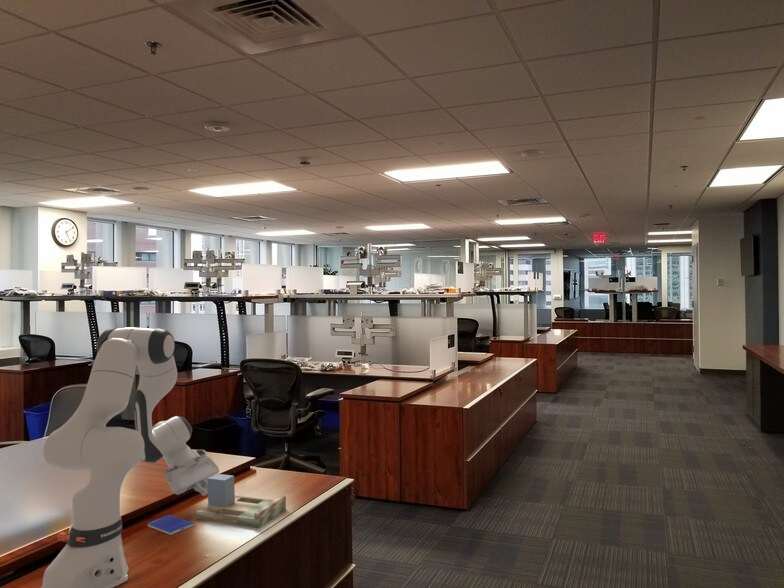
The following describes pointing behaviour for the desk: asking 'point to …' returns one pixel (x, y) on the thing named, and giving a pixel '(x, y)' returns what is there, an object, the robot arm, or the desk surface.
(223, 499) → the slate block
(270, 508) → the box
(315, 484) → the desk surface
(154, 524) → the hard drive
